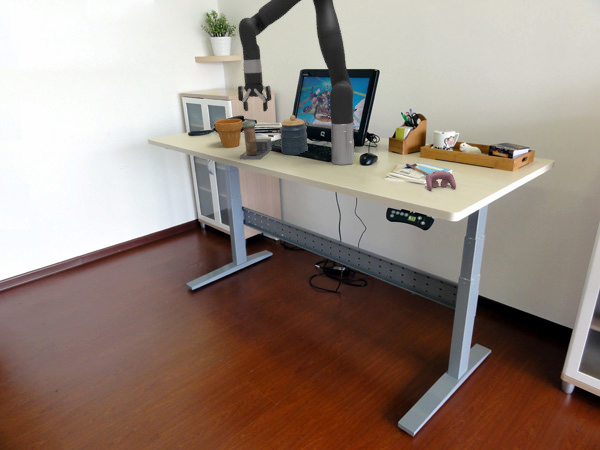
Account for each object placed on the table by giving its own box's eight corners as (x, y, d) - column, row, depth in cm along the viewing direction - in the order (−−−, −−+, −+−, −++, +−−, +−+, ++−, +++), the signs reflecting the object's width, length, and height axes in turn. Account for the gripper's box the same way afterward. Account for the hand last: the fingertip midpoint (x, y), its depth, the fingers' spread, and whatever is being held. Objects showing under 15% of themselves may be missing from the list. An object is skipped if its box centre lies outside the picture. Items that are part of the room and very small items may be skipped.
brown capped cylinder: (259, 152, 197) (257, 121, 191) (255, 155, 192) (252, 123, 186) (248, 152, 199) (244, 121, 193) (243, 155, 193) (240, 123, 187)
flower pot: (247, 142, 226) (244, 118, 220) (241, 148, 213) (238, 123, 208) (222, 143, 227) (218, 119, 222) (214, 149, 215) (211, 124, 209)
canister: (313, 151, 201) (312, 114, 194) (295, 157, 193) (292, 118, 186) (294, 147, 210) (292, 112, 202) (275, 153, 201) (273, 116, 194)
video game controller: (452, 190, 147) (450, 170, 147) (457, 188, 142) (455, 168, 143) (424, 192, 147) (423, 172, 147) (429, 190, 142) (427, 170, 142)
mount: (271, 149, 208) (270, 138, 206) (260, 159, 192) (258, 147, 190) (253, 149, 210) (252, 138, 208) (240, 159, 195) (238, 147, 192)
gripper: (271, 70, 173) (274, 110, 180) (240, 70, 177) (243, 109, 184) (265, 71, 167) (268, 112, 174) (233, 72, 171) (237, 112, 177)
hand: (255, 111), depth 179 cm, fingers open, 8 cm apart
